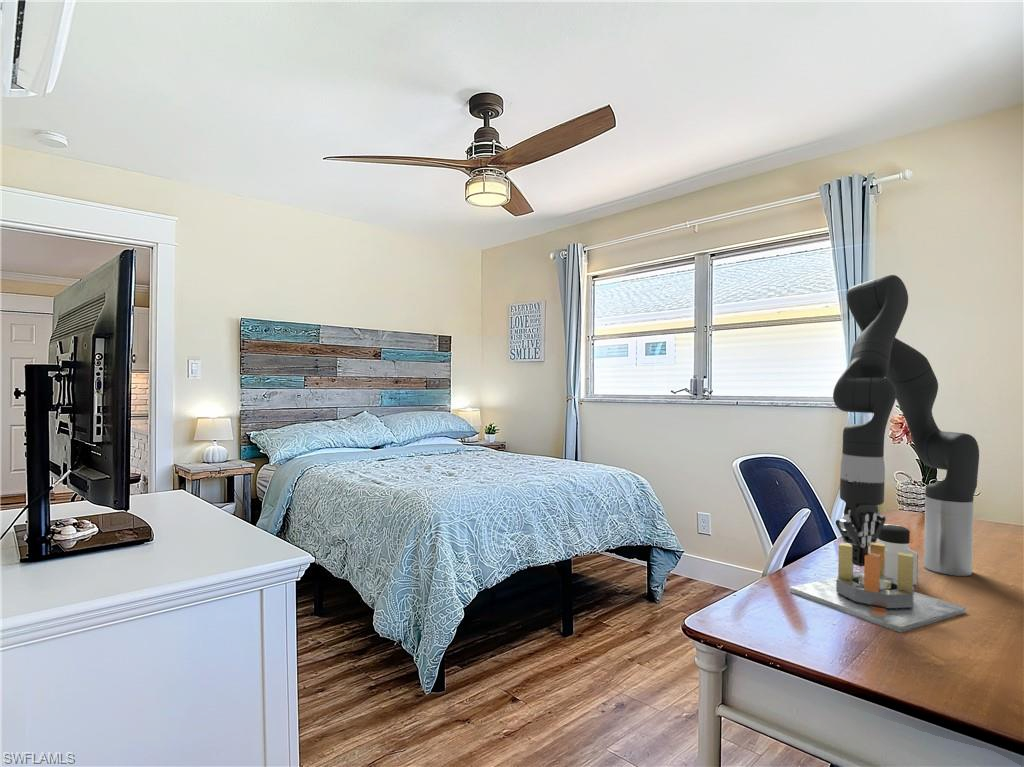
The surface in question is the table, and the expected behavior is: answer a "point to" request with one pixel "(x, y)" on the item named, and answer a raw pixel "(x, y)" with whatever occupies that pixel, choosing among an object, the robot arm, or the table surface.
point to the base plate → (892, 618)
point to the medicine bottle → (896, 549)
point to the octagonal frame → (875, 578)
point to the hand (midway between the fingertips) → (859, 564)
